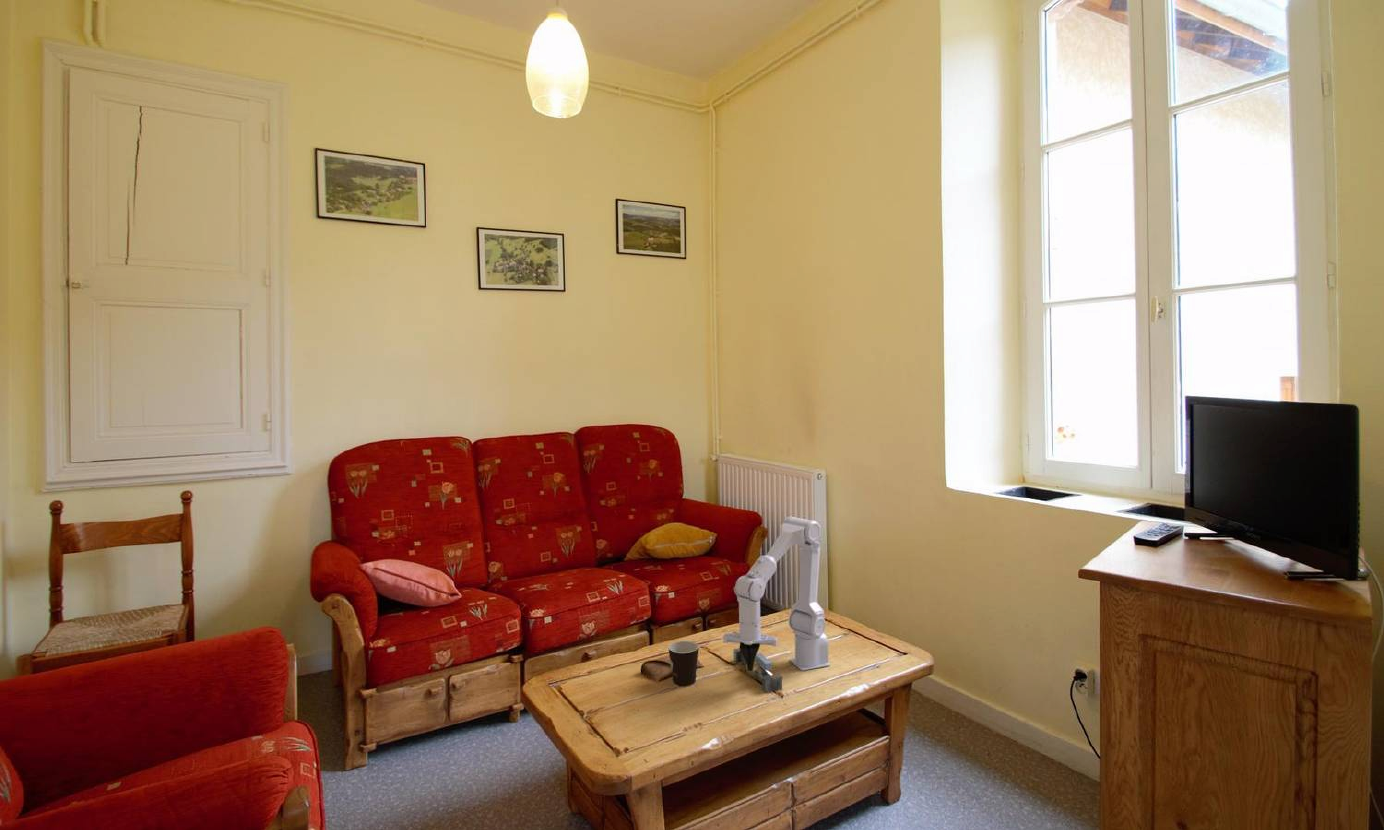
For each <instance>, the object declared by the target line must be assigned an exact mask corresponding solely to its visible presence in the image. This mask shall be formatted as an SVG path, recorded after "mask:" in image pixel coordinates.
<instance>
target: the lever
mask: <svg viewBox="0 0 1384 830" xmlns="http://www.w3.org/2000/svg"><path fill="white" fill-rule="evenodd" d="M755 661H757V662H758V663H759V664H760V665H761V666H762V667H763V668H764V669H765V670H768V671H770V670H772V668H773V667H772V665H773V664H772V662H771V661H770V660H769V659H768V658H767V657H766V656H764V654H763V653H761V652H757V654H756V657H755Z"/></svg>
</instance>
